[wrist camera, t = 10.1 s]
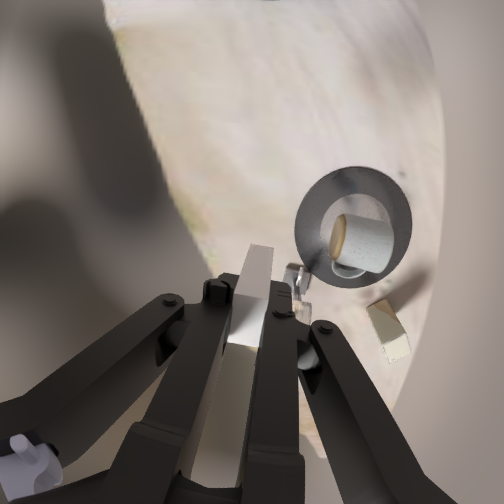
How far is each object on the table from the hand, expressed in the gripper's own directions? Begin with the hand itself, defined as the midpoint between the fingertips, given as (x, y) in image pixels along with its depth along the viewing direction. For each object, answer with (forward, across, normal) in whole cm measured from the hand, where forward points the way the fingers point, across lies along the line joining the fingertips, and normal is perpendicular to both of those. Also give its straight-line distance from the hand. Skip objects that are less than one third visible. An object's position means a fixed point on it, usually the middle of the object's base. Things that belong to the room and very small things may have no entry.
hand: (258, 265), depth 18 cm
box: (+25, +23, -16) cm, 37 cm away
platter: (+24, +14, -2) cm, 28 cm away
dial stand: (+24, +6, -12) cm, 28 cm away
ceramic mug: (+24, +14, -4) cm, 28 cm away
